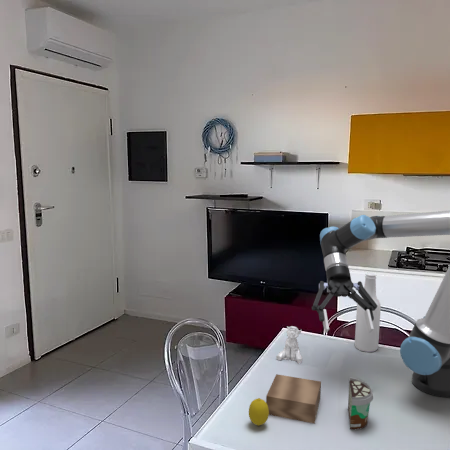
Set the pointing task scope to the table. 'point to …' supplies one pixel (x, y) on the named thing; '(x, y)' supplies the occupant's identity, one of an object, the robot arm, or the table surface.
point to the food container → (358, 403)
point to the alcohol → (362, 337)
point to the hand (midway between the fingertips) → (349, 331)
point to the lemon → (258, 411)
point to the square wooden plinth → (294, 398)
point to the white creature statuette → (291, 346)
